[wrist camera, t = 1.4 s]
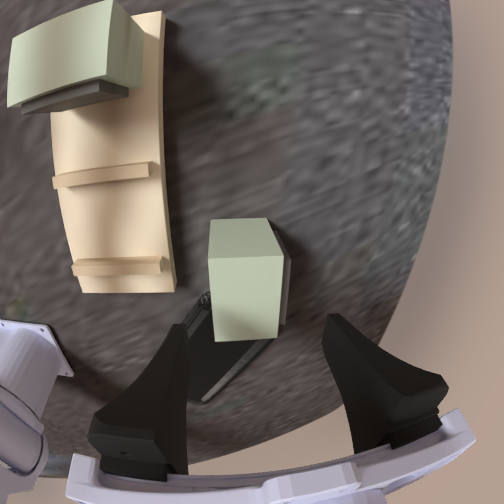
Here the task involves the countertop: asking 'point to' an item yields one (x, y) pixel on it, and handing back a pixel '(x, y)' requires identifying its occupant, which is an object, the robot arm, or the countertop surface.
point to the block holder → (103, 140)
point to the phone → (214, 354)
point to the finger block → (247, 279)
